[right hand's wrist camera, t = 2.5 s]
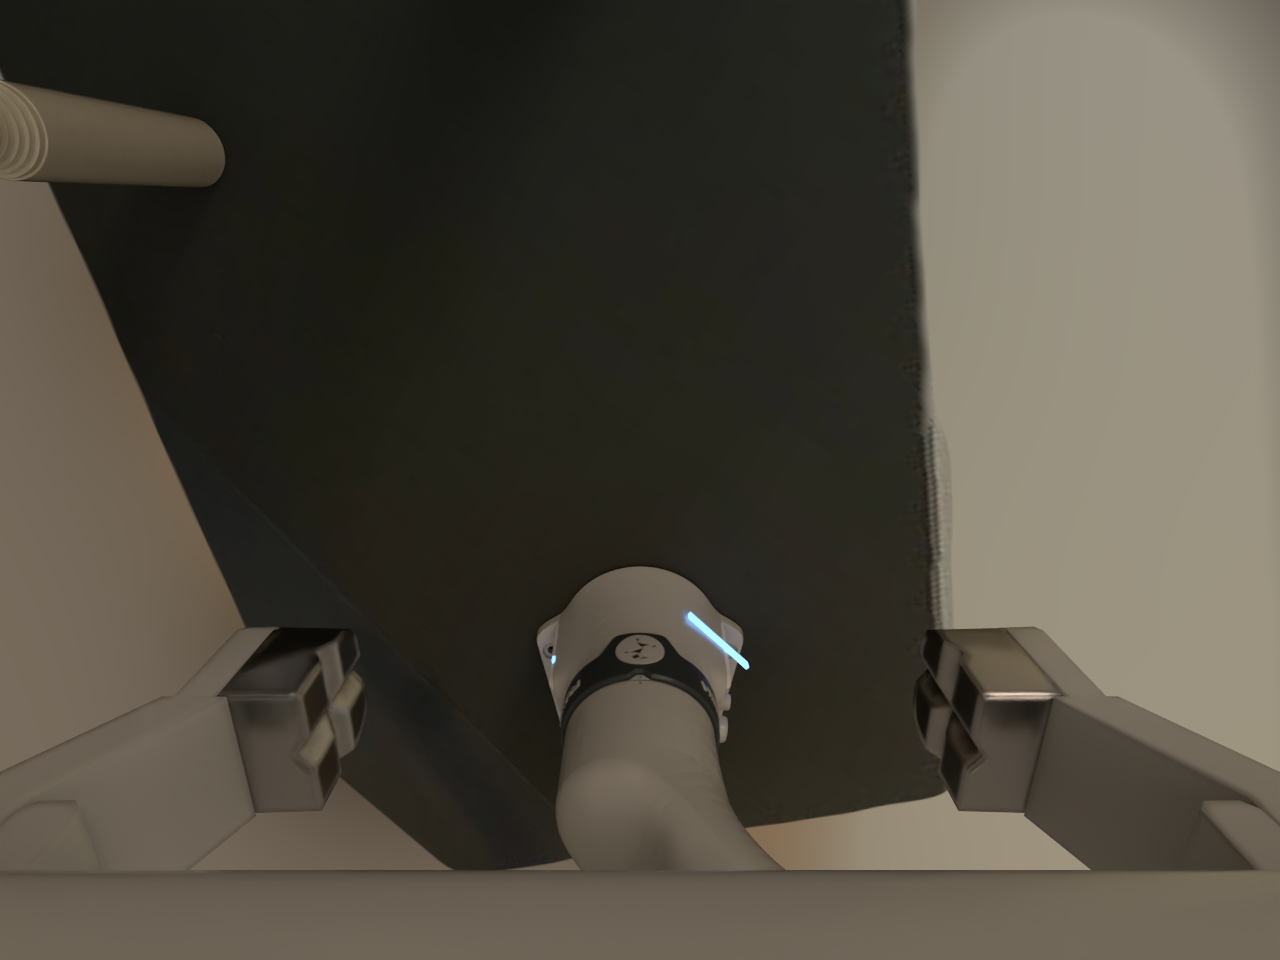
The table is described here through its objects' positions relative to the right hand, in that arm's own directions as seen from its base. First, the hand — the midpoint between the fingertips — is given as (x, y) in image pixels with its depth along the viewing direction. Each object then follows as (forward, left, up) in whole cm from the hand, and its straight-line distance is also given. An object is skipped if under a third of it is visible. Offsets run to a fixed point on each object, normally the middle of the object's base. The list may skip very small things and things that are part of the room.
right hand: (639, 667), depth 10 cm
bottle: (+10, +32, -48) cm, 59 cm away
